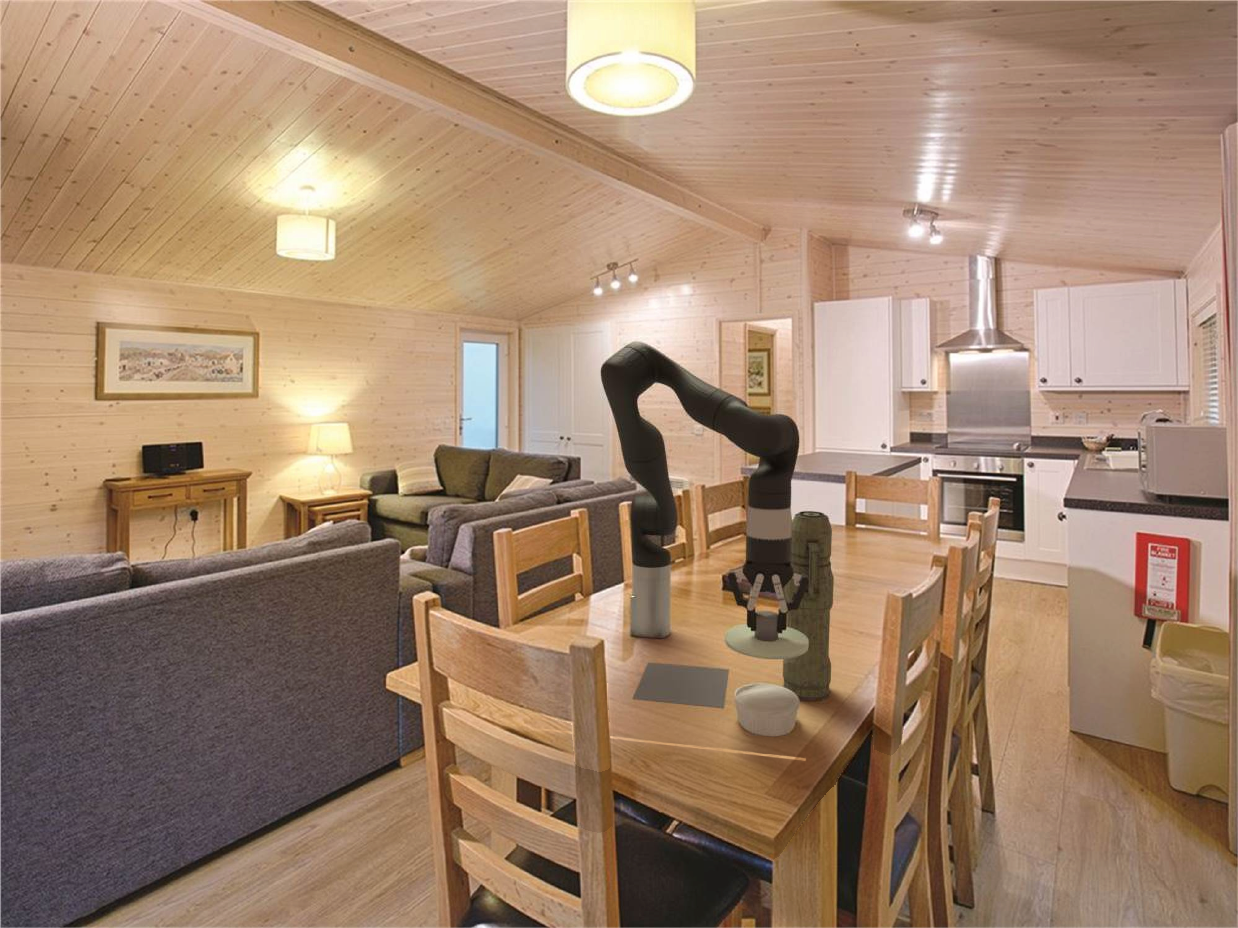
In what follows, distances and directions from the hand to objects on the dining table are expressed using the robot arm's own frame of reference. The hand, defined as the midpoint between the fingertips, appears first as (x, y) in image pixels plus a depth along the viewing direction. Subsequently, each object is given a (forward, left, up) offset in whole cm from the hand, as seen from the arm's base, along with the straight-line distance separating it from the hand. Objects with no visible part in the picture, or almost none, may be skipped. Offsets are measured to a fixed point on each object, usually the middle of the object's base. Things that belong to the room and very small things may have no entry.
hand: (766, 630), depth 112 cm
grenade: (+8, +15, -17) cm, 24 cm away
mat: (-16, +12, -17) cm, 26 cm away
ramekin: (0, 0, -17) cm, 17 cm away
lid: (0, 0, -2) cm, 2 cm away
